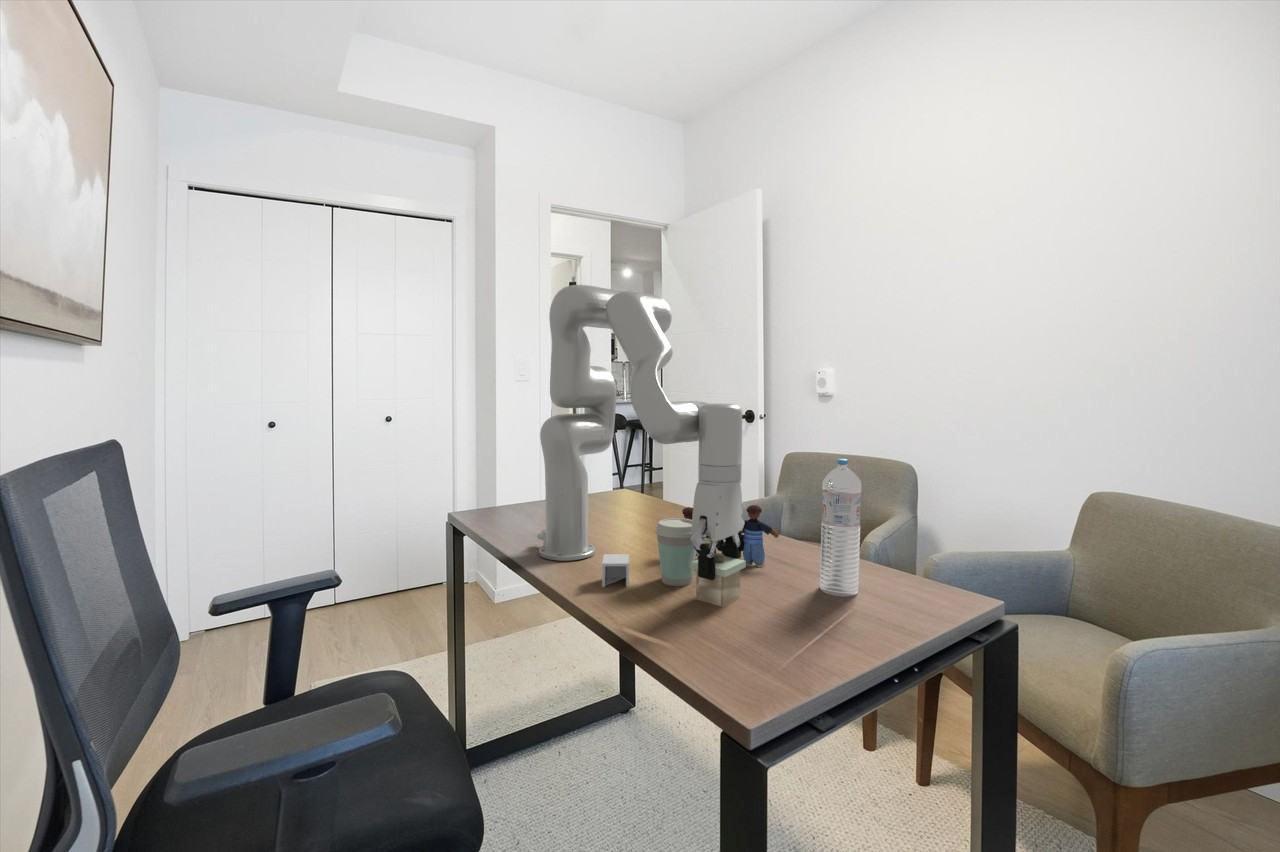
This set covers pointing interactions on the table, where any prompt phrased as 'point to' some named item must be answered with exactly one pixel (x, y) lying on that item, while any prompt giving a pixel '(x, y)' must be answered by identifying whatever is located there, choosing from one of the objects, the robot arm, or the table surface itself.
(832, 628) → the table surface
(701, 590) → the box
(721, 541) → the doll family
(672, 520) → the coffee cup
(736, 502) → the robot arm
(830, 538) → the water bottle
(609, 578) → the white cuboid
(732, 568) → the lid
